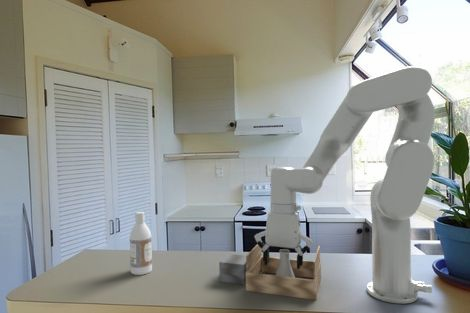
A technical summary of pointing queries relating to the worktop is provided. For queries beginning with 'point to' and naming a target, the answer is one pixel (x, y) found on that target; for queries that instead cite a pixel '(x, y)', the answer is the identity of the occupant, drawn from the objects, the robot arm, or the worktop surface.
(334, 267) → the worktop surface
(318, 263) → the wooden box
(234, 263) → the stand
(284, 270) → the flask
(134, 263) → the bath foam
